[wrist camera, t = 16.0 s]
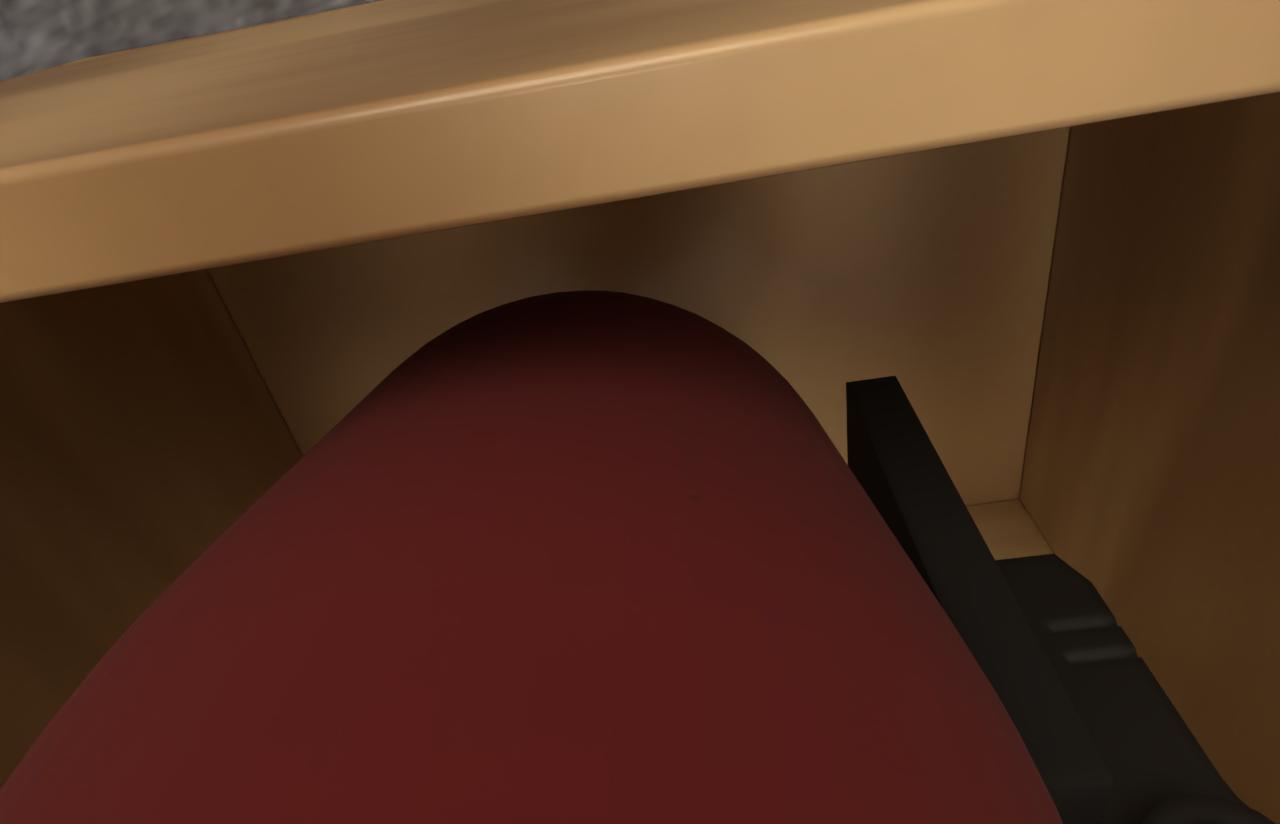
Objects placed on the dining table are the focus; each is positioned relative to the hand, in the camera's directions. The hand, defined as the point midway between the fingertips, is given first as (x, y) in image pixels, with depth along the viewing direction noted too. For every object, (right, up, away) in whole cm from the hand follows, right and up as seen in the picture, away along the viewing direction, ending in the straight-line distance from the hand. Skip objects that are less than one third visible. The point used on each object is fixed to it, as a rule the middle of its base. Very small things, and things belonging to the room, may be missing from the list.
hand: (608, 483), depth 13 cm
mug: (0, 0, +1) cm, 1 cm away
